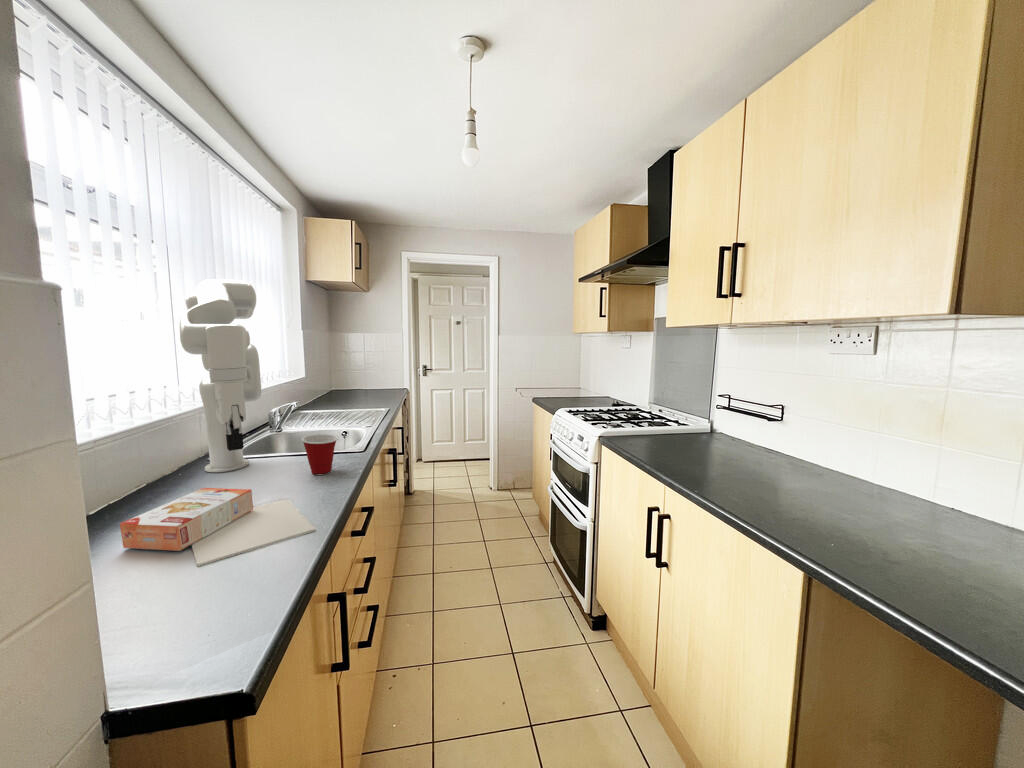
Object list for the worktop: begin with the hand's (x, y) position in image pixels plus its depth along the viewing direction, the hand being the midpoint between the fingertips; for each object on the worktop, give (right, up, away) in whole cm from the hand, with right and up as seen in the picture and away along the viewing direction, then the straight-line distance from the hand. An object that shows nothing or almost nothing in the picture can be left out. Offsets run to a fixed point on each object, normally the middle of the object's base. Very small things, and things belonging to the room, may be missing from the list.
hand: (235, 449), depth 103 cm
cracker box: (-4, -13, +4) cm, 14 cm away
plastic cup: (+6, -13, +34) cm, 37 cm away
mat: (+7, -18, -5) cm, 20 cm away
